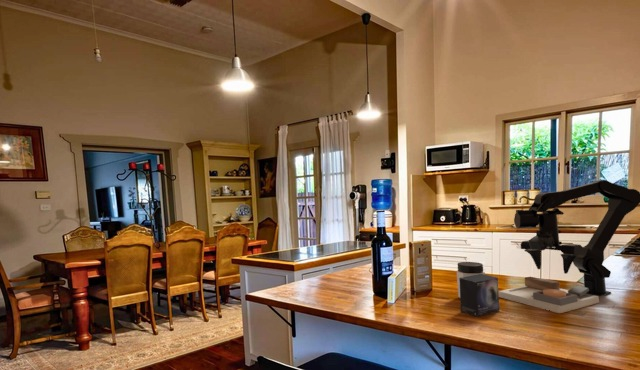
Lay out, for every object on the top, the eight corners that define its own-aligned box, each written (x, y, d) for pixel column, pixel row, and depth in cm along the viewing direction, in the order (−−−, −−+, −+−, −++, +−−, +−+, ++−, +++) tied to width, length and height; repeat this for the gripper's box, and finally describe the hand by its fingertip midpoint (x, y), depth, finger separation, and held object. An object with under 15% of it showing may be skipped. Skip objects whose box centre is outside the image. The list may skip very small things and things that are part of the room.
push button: (551, 294, 108) (550, 287, 108) (571, 298, 102) (570, 292, 102) (538, 297, 105) (538, 290, 105) (558, 301, 100) (558, 295, 100)
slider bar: (530, 284, 121) (530, 276, 122) (559, 291, 112) (558, 282, 112) (525, 286, 120) (524, 277, 120) (554, 292, 111) (553, 283, 111)
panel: (536, 288, 124) (535, 278, 124) (599, 302, 106) (597, 289, 106) (499, 297, 116) (498, 285, 116) (559, 313, 98) (558, 299, 98)
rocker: (577, 288, 110) (576, 285, 110) (589, 290, 107) (588, 287, 107) (568, 293, 108) (567, 290, 108) (580, 296, 105) (579, 293, 105)
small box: (478, 317, 97) (475, 281, 98) (459, 311, 103) (457, 277, 103) (501, 311, 102) (498, 276, 102) (482, 305, 108) (480, 273, 108)
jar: (475, 303, 110) (473, 267, 110) (454, 298, 117) (451, 264, 117) (490, 298, 115) (488, 263, 115) (469, 293, 121) (466, 260, 122)
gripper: (509, 227, 125) (512, 269, 124) (561, 230, 108) (566, 279, 107) (528, 225, 130) (532, 266, 129) (582, 228, 112) (586, 274, 112)
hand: (552, 271), depth 119 cm, fingers open, 9 cm apart
